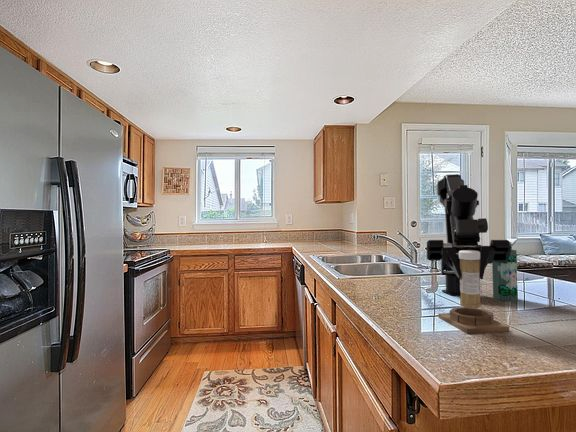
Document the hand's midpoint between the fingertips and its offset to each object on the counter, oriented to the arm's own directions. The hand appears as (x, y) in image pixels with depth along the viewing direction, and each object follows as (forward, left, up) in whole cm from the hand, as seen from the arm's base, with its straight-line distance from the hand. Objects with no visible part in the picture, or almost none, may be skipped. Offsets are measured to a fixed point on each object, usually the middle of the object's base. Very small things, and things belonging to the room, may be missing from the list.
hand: (470, 278), depth 80 cm
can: (-21, +24, -11) cm, 34 cm away
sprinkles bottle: (-1, +1, -7) cm, 7 cm away
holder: (-1, 0, -11) cm, 11 cm away
